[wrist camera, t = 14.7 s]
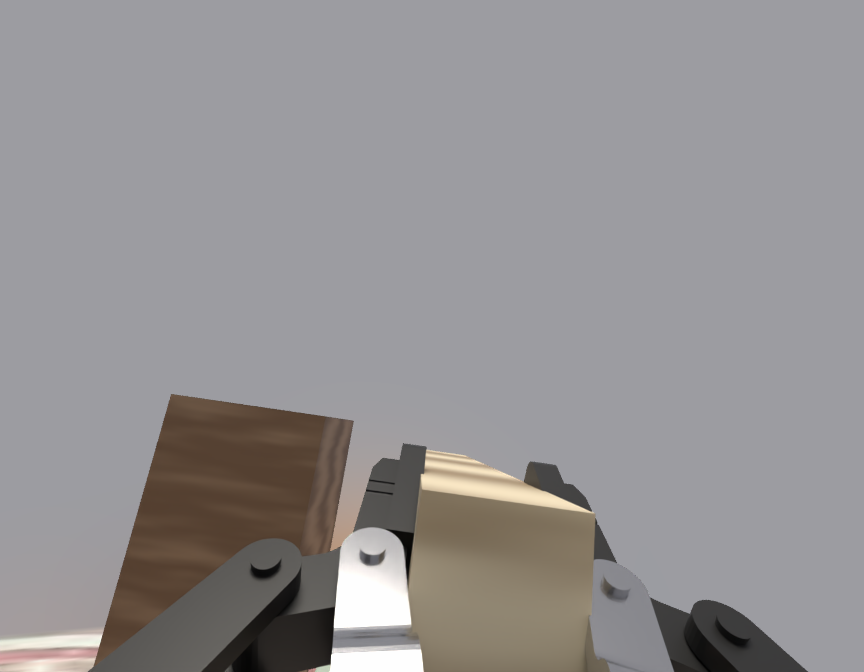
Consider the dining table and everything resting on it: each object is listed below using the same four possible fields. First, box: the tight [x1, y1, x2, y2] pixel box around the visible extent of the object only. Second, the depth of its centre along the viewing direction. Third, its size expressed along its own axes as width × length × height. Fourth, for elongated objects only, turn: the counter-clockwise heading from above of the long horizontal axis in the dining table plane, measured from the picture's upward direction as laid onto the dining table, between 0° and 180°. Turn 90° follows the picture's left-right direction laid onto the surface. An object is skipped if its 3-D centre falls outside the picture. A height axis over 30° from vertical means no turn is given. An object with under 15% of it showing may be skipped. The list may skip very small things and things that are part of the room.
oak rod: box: [407, 450, 595, 672], centre depth 18 cm, size 22×3×3 cm, turn 1°
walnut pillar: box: [94, 394, 354, 672], centre depth 35 cm, size 14×12×32 cm
